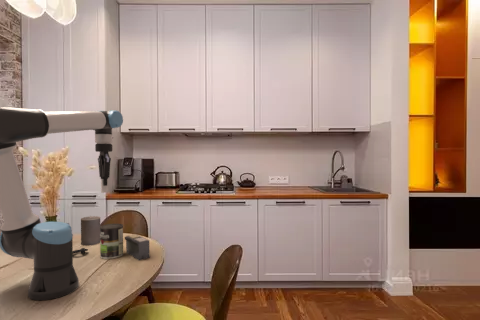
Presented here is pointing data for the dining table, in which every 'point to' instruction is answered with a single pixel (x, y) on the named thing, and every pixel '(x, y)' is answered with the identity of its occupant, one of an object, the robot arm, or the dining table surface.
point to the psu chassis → (137, 247)
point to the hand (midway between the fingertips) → (104, 192)
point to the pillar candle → (90, 230)
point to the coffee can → (111, 241)
